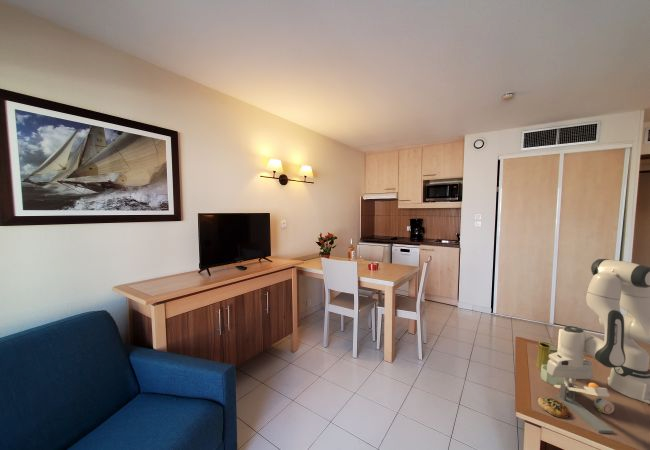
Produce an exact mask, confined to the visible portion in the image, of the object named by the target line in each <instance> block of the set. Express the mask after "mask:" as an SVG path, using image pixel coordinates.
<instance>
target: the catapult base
mask: <svg viewBox="0 0 650 450" xmlns="http://www.w3.org/2000/svg"><path fill="white" fill-rule="evenodd" d="M574 386H575V385H574V384H573V385H572V384H569V387H572V388H575V387H574ZM575 396H576V391H571V390H567V387H566V386H565V384H561V388H559V394H556V395H555V397H556V399H558V401H559V402H561V403H562V404H563V405H565V406H566V407H567V408H569V410H571V411H572V412H574V413H575V414H576V415H577V416H578V417H579V418H581V419H582V420H583V421H585V422H586V423H587V424H588V425H589V426H590V427H591V428H592V429H594V430H595V431H597V433H603V434H604V433H605V434H609V433H610V434H614V430H613V429H612V428H610V427H609V426H608V425H607V424H606V423H604V422H603V421H602V420H600V419H599V418H598V417H597V416H596V415H594V414H593V413H592V412H590V411H589V410H588V409H586V408H585V407H584V406H583V405H581V403H579V402H577V401H576V399H575Z"/></svg>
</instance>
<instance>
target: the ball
mask: <svg viewBox="0 0 650 450" xmlns="http://www.w3.org/2000/svg"><path fill="white" fill-rule="evenodd" d="M587 387H592V388H601V387H600V386H599V385H598V384H597V383H595V382H589V383H588V385H587Z"/></svg>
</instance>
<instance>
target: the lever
mask: <svg viewBox="0 0 650 450" xmlns="http://www.w3.org/2000/svg"><path fill="white" fill-rule="evenodd" d="M564 385H565V384H564ZM565 386H566V385H565ZM573 386H574V387H575V388H572V387H569V386H566V387H567V391H569V390H571V391H575V392H577V393H583V394H586V395H592V396H595V397H596V396H597V397H611V395H610V392H609V390H608V388H606V387H600V388H592V387H588V386H586V385H584V386H577V385H573ZM553 387H555V388H556V389H560V388H561V385H553Z"/></svg>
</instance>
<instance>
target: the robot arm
mask: <svg viewBox="0 0 650 450" xmlns="http://www.w3.org/2000/svg"><path fill="white" fill-rule="evenodd" d="M590 271H591V274H592V275H593V276H592V278H591V280H590V282H589V284H588V287H587V291H586V296H585V304H586V305H587V307H588V308H589V309H590V310H591V311H592V312H594V313H595V314H596V315H597V316H598V322H599V325H600V327H601V328H603V329H604V340H602V339H601V338H599V337H598V336H595V335H593V334H591V333H588V332H587V331H584V329H582V328H580V327H577V326H573V325H572V326H564V327H563V328H562V329H563V330H562V333H561V339H560V343H561V347H560V350H559V351H558V352H556V353H552V354H549V358H550V360H549V361H548V363H547V372H548V374H549V375H551V376H552V377H557V378H563V379H564V385H566V386H569V384H572V385H573V386H574V383H575V382H576V381H577V379H582V380H583V379H584V380H592V379H593V378H594V377H593V376H594V371H593V366H592V364H593V362H591V360H590V359H584V358H585V355H588V356H590V357H592V358H593V359H595V360H596V361H597V362H598V363H600V364H602V365H603V366H605V367H606V368H611V369H610V373H609V376H607V384H608V386H609V387H610V388H612V389H613V390H614V391H616V392H617V393H620V394H622V395H624V396H627V397H629V398H632V399H635V400H637V401H638V400H639V401H641V402H644V403H645V404H648V405H650V368H649V367H650V366H649V365H650V355H649V353H648V352H647V351H646V350H645V349H644V348H643V347H641V346H640V345H639V344H638V343H636V341H637V342H641V343H644V344H647V345H649V346H650V266H648V265H644V264H638V263H635V262H629V261H622V260H613V259H609V258H598V259H597V260H594V261H593V263H592V264H591V266H590ZM621 310H623V311H626V313H627V314H630V316H629V315H626V314H622V311H621Z"/></svg>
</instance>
